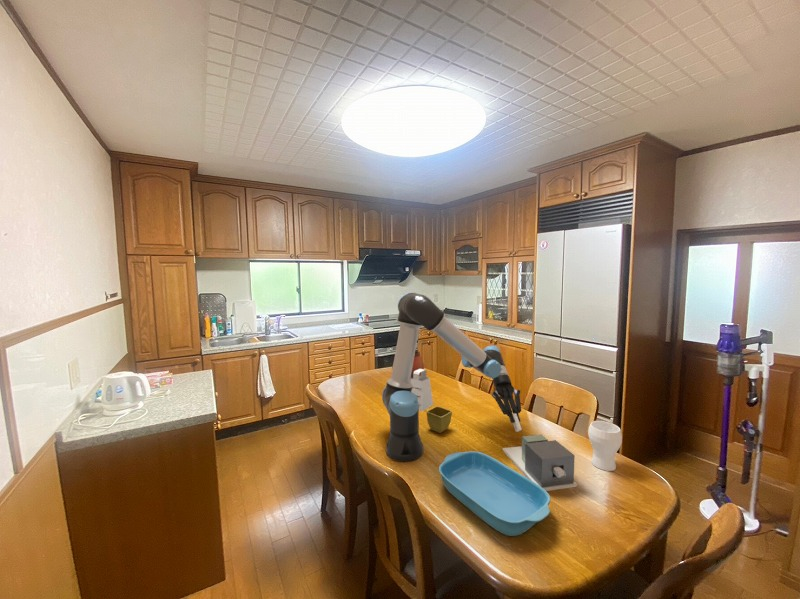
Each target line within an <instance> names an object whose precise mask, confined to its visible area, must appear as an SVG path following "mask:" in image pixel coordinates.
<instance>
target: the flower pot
mask: <svg viewBox="0 0 800 599" xmlns="http://www.w3.org/2000/svg"><path fill="white" fill-rule="evenodd" d="M452 414H453V411H452V410H450V409H447V408H445V407H442V406H438V405H437V406H434V407H432V408H429V409H427V411H426V419H427V424H428V426H429V428H430V429H431V430H432V431H434V432H436V433H439V434H441V433H443V432H445V431H447V429H448V428H449V427H450V425H451V421H452V416H453V415H452Z"/></svg>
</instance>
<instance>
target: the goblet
mask: <svg viewBox="0 0 800 599" xmlns="http://www.w3.org/2000/svg"><path fill="white" fill-rule="evenodd" d="M420 353H421V351H418V350H415V355H414V361H413V367H412V372H411V378H413V373H414V371H416V370H418V369H424V370H425V365H424V362H423V358H422V357H421V354H420ZM393 364H394V361H393V363H392V367H391V369H393ZM419 375H420V376H421V372H420V373H419ZM411 378H410V380H411ZM412 388H414V387H412Z"/></svg>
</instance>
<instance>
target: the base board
mask: <svg viewBox="0 0 800 599" xmlns="http://www.w3.org/2000/svg"><path fill="white" fill-rule="evenodd" d="M502 451H503V452H502V453H504V454H505V455H506V456H507V457H508V458H509V459H510V461H511V462H512V463H513V464H514V465H515V467H517V468H518V470H520V472H521V474H522V475H523V476H525V477H526V478H528V479H530V480H531V481H533V482H535V483H536V484H537V482H536V481H535V480H534V479H533V478H532V477H531V476H530V475H529V474H528V473H527V472H526V470H525V462H524V461H523V460H522V445H520V446H519V445H518V446H512V447H503V448H502ZM577 487H578V483H577V482H576V481H574V483H573V484H566V485H558V486H551V487H544V488H543V489H544V490H545V491H546V492H549V491H556V490H563V489H565V490H566V489H572V488H577Z"/></svg>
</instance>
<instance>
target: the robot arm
mask: <svg viewBox="0 0 800 599" xmlns="http://www.w3.org/2000/svg"><path fill="white" fill-rule="evenodd" d="M397 308H398V309H397V310H398V316H397V323H398V324H399V329H398V336H397V342H396V348H395V352H394V358H393V362H394V364H393V363H392V366H393V369H392V368H391V369H392V370H391V376H390V378H388V379H387V380H386V385H385V387H384V388H383V390H382V394H381V396H382V397H381V398H382V403H383V405H384V407H385V409H386V410H387V413H388V415H389V425H390V426H389V428H390V430H389V431H390V432H389V437H388V439H387V442H386V447H385V448H386V449H385V452H386V455H387V456H388V457H389V458H390V459H391V460H394V461H398V462H412V461H416V460H417V459H419V458H420V457H422V456H423V453H424V443H423V442H422V440H421V436H420V432H419V431H420V430H419V427H420V426H419V425H420V424H419V423H420V422H419V420H420V419H419V416H420V411H419V406H420V405H419V402H418V398H417V396H416V395H415V394H414V393H412V386H413V385H412V383H411V382H410V378H411V372H412V367H413V361H414V355H415V351H417V349H416V348H417V343H418V337H419V333H420V329H421V328H422V327H423V328H425V329H426V330H427V331H429V332H431V331H432V332H433V333H434V334H436V335H437V336H438V337H439V338H441V340H443V341H444V342H445V343H446V344H448V345H449V346H450V347H451V348H452V349H453V350H454V351H456V353H458V354H460V356H461V363H462V364H461V365H462V366H463V367H464V368H469V369H470V368H473V369H475V370H476V371H478V372H480V373H481V374H483V375H484V376H485V377H488V378H489V379H491V380H492V383H493V386H494V388H495V390H494V391H493V392H492V394H491V397H492V398H494V400H495V402H496V403H497V406H498V407H499V409H500V410H501V413H502V414H503V415H506V416H507V417H508V418H509V421H510V423H511V424H513V427H514V430H515V433H517V432H520V431H522V426H521V423H520V422H521V418H520V415H519V414H520V413H521V412H522V404H521V397H520V396H521V395H520V394H521V390H520V389H515V387H514V386H513V385H512V381H511V379H510V376H509V373H508V371H507V367H506V365H505V364H506V363H505V361H504V359H503V355H502V353H501V350H500V349H499V347H498V346H497V345H488V346H485V348H484V349H482V348H481V347H480V346H478V345H477V344H476V343H475V342H474V341H473V340H472V339H470V337H468V336H467V335H466V334H465V333H464V332H463V331H462V330H460V329H459V328H458V327H457V326H455V324H454V323H452V321H450V320H449V319H448V318H447V317H446V315H445V312H443V311H442V309H441V308H440V307H438V305H437V304H435V303H434V302H433V300H431V298H429V297H428V296H426V295H424V294H420V293H416V292H407V293H404V294H403V295H402V296H401V297H400V298H399V300H398V302H397Z"/></svg>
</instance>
